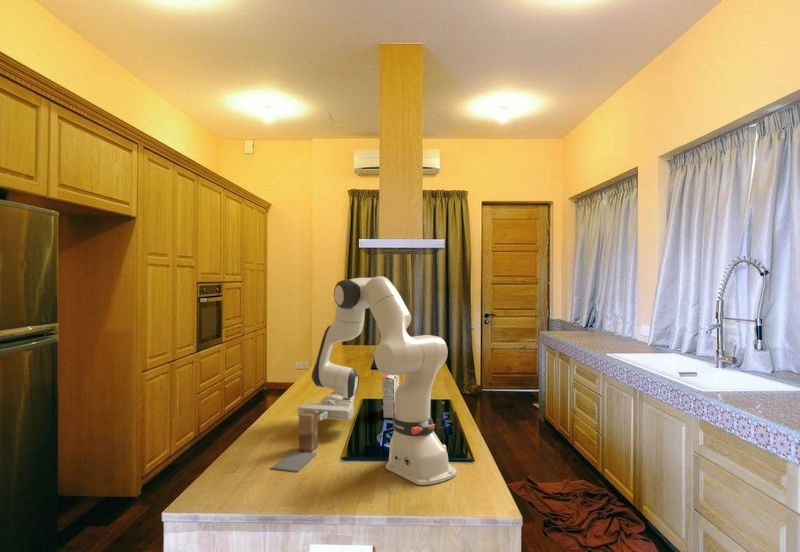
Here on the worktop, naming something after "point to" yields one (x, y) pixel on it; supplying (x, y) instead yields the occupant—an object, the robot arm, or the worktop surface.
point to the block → (308, 431)
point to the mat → (293, 461)
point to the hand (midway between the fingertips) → (316, 418)
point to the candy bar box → (389, 395)
